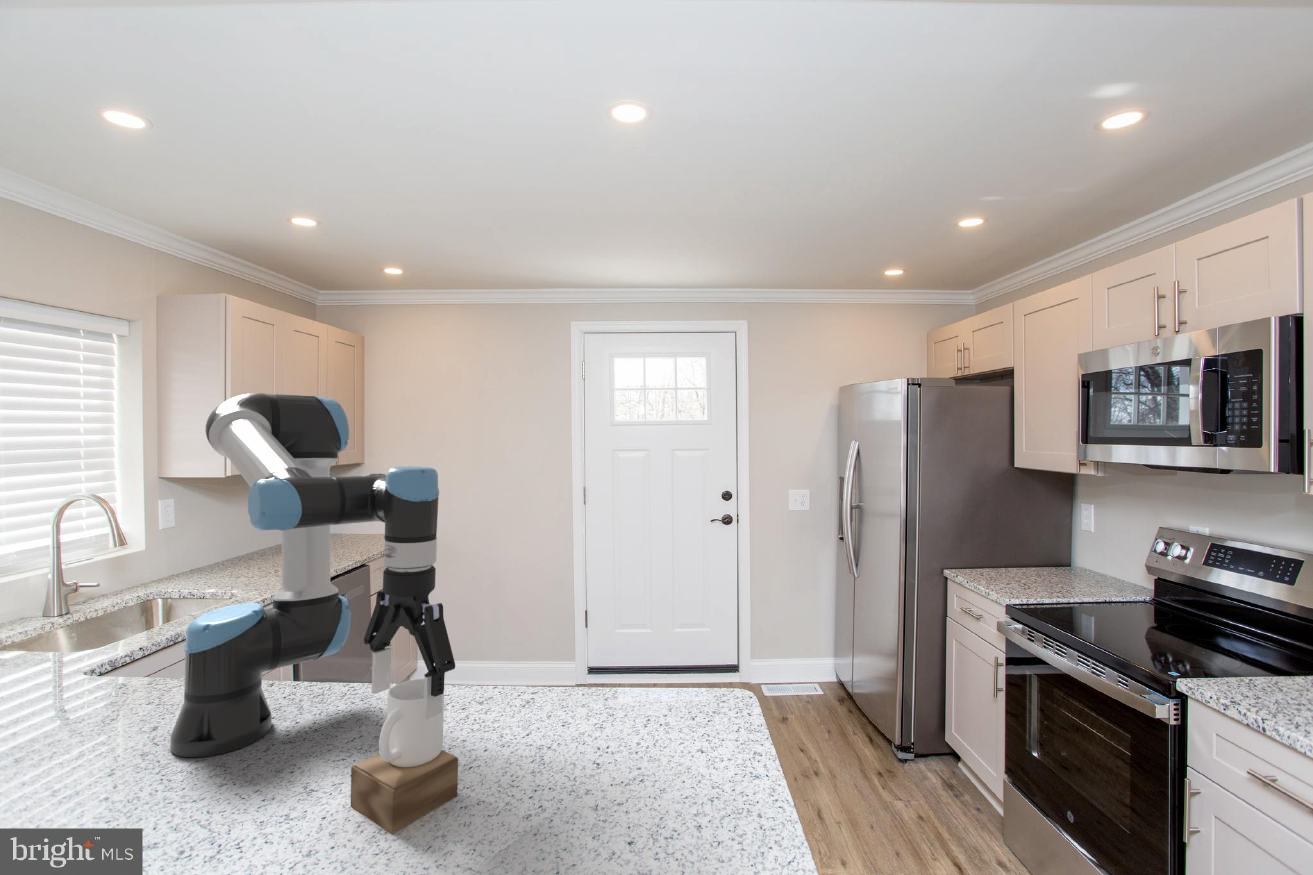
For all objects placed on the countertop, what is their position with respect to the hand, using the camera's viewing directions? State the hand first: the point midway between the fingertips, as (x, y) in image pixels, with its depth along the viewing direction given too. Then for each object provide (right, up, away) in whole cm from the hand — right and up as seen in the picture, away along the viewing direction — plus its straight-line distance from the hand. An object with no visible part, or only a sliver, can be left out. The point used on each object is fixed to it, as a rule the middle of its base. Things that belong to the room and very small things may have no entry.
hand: (405, 702), depth 91 cm
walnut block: (0, -15, 0) cm, 15 cm away
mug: (0, -9, -1) cm, 9 cm away
